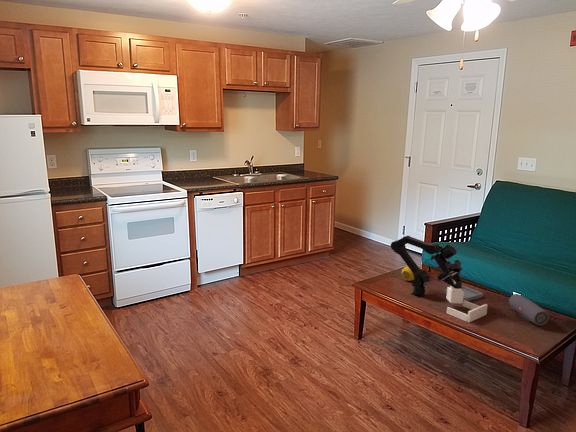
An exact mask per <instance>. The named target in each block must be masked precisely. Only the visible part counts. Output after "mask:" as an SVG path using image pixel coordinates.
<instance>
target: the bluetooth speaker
mask: <svg viewBox="0 0 576 432" xmlns="http://www.w3.org/2000/svg"><path fill="white" fill-rule="evenodd" d="M508 305H509V306H510V308H512V309H513V310H515V311H516V312H517V313H518V315H520V316H521V318H523V319H525V320H526V321H528V323H529V322H530V323H533V324H535V325H537V326H544V325H546V324H547V323H548V321H549V320H550V319H549V318H550V317H549V313H548V312H547V311H546V310H545V309H543V308H542V307H540V306H539V305H538V304H536V303H535V302H534V301H532V300H530V299H528V298H527V297H525V296H523V295H521V294H519V293H514V294H512V295H511V296H510V297H509V299H508Z"/></svg>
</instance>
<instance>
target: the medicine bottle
mask: <svg viewBox="0 0 576 432" xmlns="http://www.w3.org/2000/svg"><path fill="white" fill-rule="evenodd" d="M452 280H453V282H454V284H455V285H456V288H454V287H452V286H451V285H449V286H447V288H446V289H447V294H446V297H445V298H446V300H447V301H448V302H449V304H463V297H464V292H463V291H462V290H461V288H462V285H463V283H462V281H461V282H460V281H457V280H454V279H452Z"/></svg>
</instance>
